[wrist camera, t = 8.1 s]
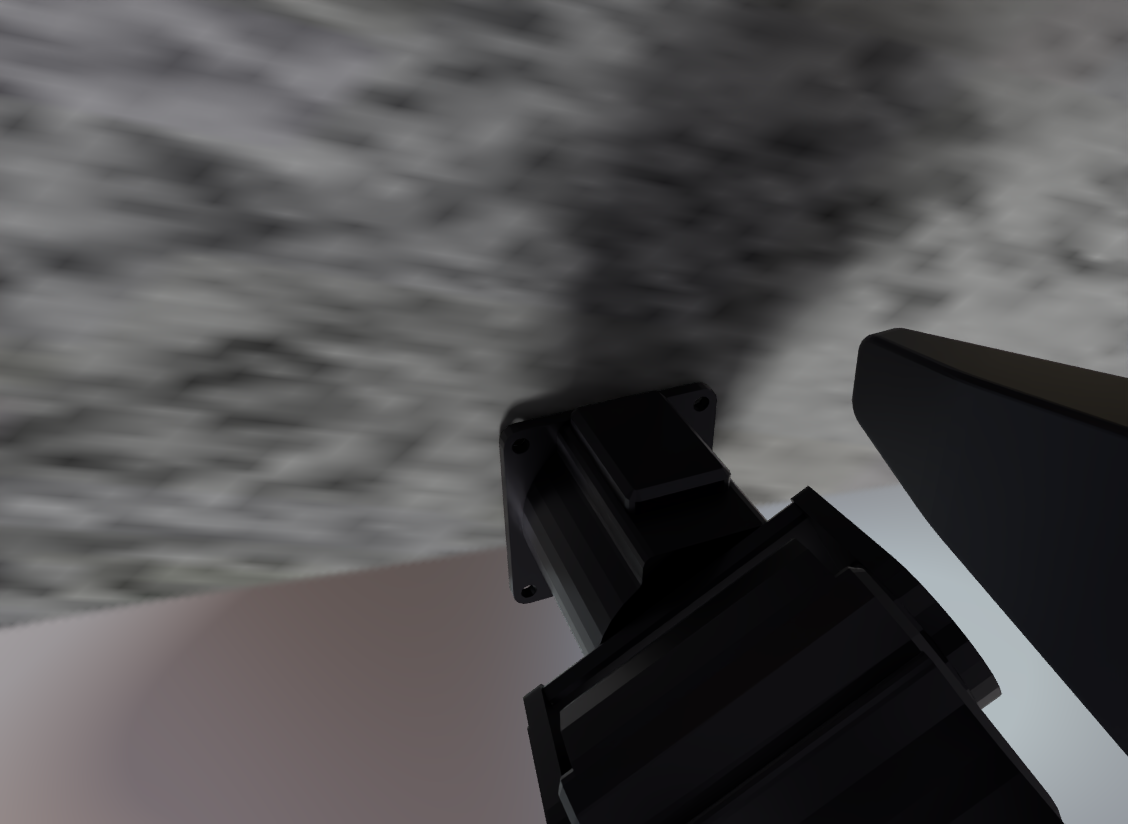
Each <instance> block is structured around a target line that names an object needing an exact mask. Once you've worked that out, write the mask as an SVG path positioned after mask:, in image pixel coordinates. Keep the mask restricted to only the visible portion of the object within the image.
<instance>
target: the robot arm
mask: <svg viewBox="0 0 1128 824" xmlns="http://www.w3.org/2000/svg"><path fill="white" fill-rule="evenodd" d="M700 397H702V399H701V400H700V401H699V403H697V404H694V403H695V401H696V400H697V399H698V398H700ZM716 403H717V399H716V394H715V393H714V392H713V391H712V390H711V389H710V387H709V386H708V385H707V384H704V383H702V382H700V383H692V384H688V385H683V386H679V387H674V388H670V389H665V390H661V391H651V392H646V393H642V394H637V395H633V396H628V397H624V398H619V399H615V400H610V401H606V402H601V403H597V404H593V405H588V406H584V407H579V408H577V409H576V410H572V411H567V412H563V413H558V414H554V415H550V416H545V417H541V418H536V419H532V420H527V421H523V422H518V423H515V424H512V425H510V426H508V427H507V428H506V429H504V430H503V432H502V434H501V435H500V439H499V448H500V462H501V476H502V490H503V503H504V517H505V531H506V545H507V559H508V572H509V585H510V590H511V592H512V594H513V596H514V599H515V600H516V601H517V602H518V603H523V604H526V603H531V602H535V601H539V600H542V599H545V598H549V597H552V596H554V598H555V600H556V602H557V604H558V606H559V608H560V610H561V611H562V613H563V616H564V618H565V620H566V622H567V623H568V626H569V627H570V629H571V631H572V633H573V635H574V637H575V639H576V641H577V643H578V645H579V647H580V649H581V651H582V653H583V655H584V657H583V658H582V659H580V660H579V661H578V662H576V663H575V664H574V665H572V666H571V667H570V668H568V669H567V670H566V671H564V672H563V673H562V674H560V675H559V676H557V677H556V678H555V679H553V680H552V681H551V682H550V683H548V684H547V685H546V686H544V685H542V684H540V685H539V686H537V687H536V688H535V689H533V690H532V691H531V692H529V693H528V694H527V695H525V696H524V697H523V700H524V705H525V710H526V714H527V720H528V725H529V726H528V728H527V730H528V734H529V739H530V744H531V749H532V754H533V759H534V764H535V769H536V774H537V778H538V783H539V788H540V792H541V798H542V803H543V807H544V812H545V817H546V822H547V824H1064V823H1063V822H1062V819H1061V817H1060V814H1059V810H1058V808H1057V806H1056V805H1055V803H1054V801H1053V800H1052V798H1051V797H1050V796H1049V794H1048V793H1047V792H1046V790H1045V789H1044V788H1043V786H1042V785H1041V784H1040V783H1039V781H1038V780H1037V779H1036V778H1035V776H1034V775H1033V774H1032V773H1031V771H1030V770H1029V769H1028V768H1027V766H1026V765H1025V764H1024V763H1023V762H1022V760H1021V759H1020V758H1019V756H1018V755H1017V754H1016V753H1015V751H1014V750H1013V749H1012V748H1011V746H1010V745H1009V744H1008V743H1007V741H1006V740H1005V739H1004V738H1003V737H1002V735H1001V734H1000V732H999V731H998V730H997V729H996V727H994V725H993V724H992V723H991V721H990V720H989V719H988V718H987V716H986V715H985V714H984V712H983V711H982V710H981V709H983V708H984V707H985V706H987V705H988V704H990V703H991V702H992V701H994V700H995V699H997V698H998V697H999V696H1000V695H1001V690H1000V687H999V685H998V683H997V681H996V679H995V677H994V675H993V674H992V673H991V671H990V669H989V668H988V666H987V665H986V663H985V662H984V660H983V659H982V657H981V656H980V655H979V653H978V652H977V651H976V649H975V648H974V646H973V645H972V644H971V642H970V641H969V640H968V638H967V637H966V636H965V635H964V633H963V632H962V631H961V630H960V628H959V627H958V626H957V625H956V623H955V622H954V621H953V620H952V618H951V617H950V616H949V615H948V614H947V613H946V611H944V609H943V608H942V607H941V606H940V604H939V603H938V602H937V601H936V600H935V599H934V598H933V597H932V596H931V594H930V593H929V592H928V591H927V590H926V589H925V588H924V587H923V586H922V585H921V583H919V581H918V580H917V579H916V578H915V577H913V575H911V573H910V572H909V571H908V570H907V569H906V568H905V567H904V566H902V565H901V564H900V563H899V562H898V561H897V560H896V559H895V558H893V557H892V556H891V555H890V554H889V553H887V551H885V550H884V549H883V548H882V547H881V546H879V545H878V544H877V543H876V542H875V541H873V540H872V539H871V538H870V537H869V536H868V535H866V534H865V533H864V532H863V531H862V530H860V529H859V528H858V527H857V526H856V525H854V524H853V523H852V522H851V521H850V520H849V519H847V518H846V517H845V516H844V515H843V514H841V513H840V512H839V511H838V510H837V509H835V508H834V507H833V506H832V505H831V504H829V503H828V502H827V501H826V500H825V499H824V498H822V497H821V496H820V495H819V494H818V493H816V492H815V491H814V490H813V489H812V488H811V487H809V486H807V487H806V488H805V489H803V490H802V491H800V492H799V493H798V494H796V495H795V496H794V497H792V498H791V501H792V503H791V504H790V505H788V506H787V507H786V508H784V509H783V510H782V511H780V512H779V513H778V514H776V515H775V516H773V517H772V518H771V519H769V520H768V521H767V520H766V519H765V518H764V516H763V515H762V514H761V513H760V512H759V511H758V509H757V508H756V507H755V506H754V505H753V504H752V503H751V501H750V500H749V499H748V498H747V497H746V496H745V494H744V493H743V492H742V491H741V490H740V489H739V487H738V486H737V485H736V484H735V483H734V482H733V481H732V479H731V478H730V476H731V473H730V471H729V469H728V468H727V467H726V466H725V465H724V464H723V462H722V461H721V460H720V459H719V458H718V457H717V456H716V454H715V453H714V452H713V451H712V447H713V436H714V425H715V414H716ZM852 404H853V410H854V414H855V416H856V418H857V420H858V422H859V424H860V425H861V427H862V428H863V430H864V431H865V433H866V434H867V436H868V437H869V438H870V440H871V441H872V443H873V444H874V446H875V447H876V449H877V450H878V451H879V453H880V454H881V456H882V457H883V459H884V460H885V462H886V463H887V464H888V466H889V467H890V469H891V470H892V472H893V473H894V475H895V476H896V478H897V479H898V480H899V482H900V483H901V485H902V486H903V488H904V489H905V491H906V492H907V493H908V495H909V496H910V498H911V499H912V501H913V502H914V504H915V505H916V507H917V508H918V509H919V511H920V512H921V513H922V515H923V516H924V517H925V519H926V520H927V521H928V523H929V524H930V525H931V527H932V528H933V529H934V530H935V532H936V533H937V534H938V535H939V536H940V538H941V539H942V540H943V541H944V542H945V544H946V545H947V546H948V547H949V548H950V549H951V551H952V552H953V553H954V554H955V555H956V556H957V558H958V559H959V560H960V561H961V562H962V563H963V564H964V566H965V567H966V568H967V569H968V570H969V572H970V573H971V574H972V575H973V576H974V577H975V579H976V580H977V581H978V582H979V583H980V584H981V585H982V587H983V588H984V589H985V590H986V591H987V593H988V594H989V595H990V596H991V597H992V598H993V600H994V601H995V602H996V603H997V604H998V605H999V607H1000V608H1001V609H1002V610H1003V611H1004V612H1005V614H1006V615H1007V616H1008V617H1009V618H1010V619H1011V621H1012V622H1013V623H1014V624H1015V625H1016V626H1017V628H1018V629H1019V630H1020V631H1021V632H1022V633H1023V635H1024V636H1025V637H1026V638H1027V639H1028V640H1029V642H1030V643H1031V644H1032V645H1033V646H1034V647H1035V649H1036V650H1037V651H1038V652H1039V653H1040V654H1041V656H1042V657H1043V658H1044V659H1045V660H1046V661H1047V662H1048V664H1049V665H1050V666H1051V667H1052V668H1053V670H1054V671H1055V672H1056V673H1057V674H1058V675H1059V677H1060V678H1061V679H1062V680H1063V681H1064V682H1065V684H1066V685H1067V686H1068V687H1069V688H1070V689H1071V690H1072V692H1073V693H1074V694H1075V695H1076V696H1077V698H1078V699H1079V700H1080V701H1081V702H1082V703H1083V705H1084V706H1085V707H1086V708H1087V709H1088V710H1089V712H1090V713H1091V714H1092V715H1093V716H1094V717H1095V718H1096V720H1097V721H1098V722H1099V723H1100V724H1101V726H1102V727H1103V728H1104V729H1105V730H1106V731H1107V733H1108V734H1109V735H1110V736H1111V737H1112V738H1113V740H1114V741H1115V742H1116V743H1117V744H1118V745H1119V747H1120V748H1121V749H1122V750H1123V751H1124V752H1125V754H1126V755H1127V756H1128V378H1125V377H1121V376H1116V375H1112V374H1107V373H1103V372H1098V371H1094V370H1089V369H1085V368H1080V367H1076V366H1071V365H1067V364H1062V363H1058V362H1053V361H1049V360H1044V359H1040V358H1035V357H1031V356H1026V355H1022V354H1017V353H1013V352H1008V351H1004V350H999V349H995V348H990V347H986V346H981V345H977V344H972V343H968V342H963V341H959V340H954V339H950V338H945V337H941V336H936V335H932V334H927V333H923V332H918V331H914V330H909V329H905V328H893V329H890V330H886V331H882V332H879V333H875V334H871V335H868V336H867V337H866V338H864V339H863V341H862V342H861V344H860V346H859V350H858V358H857V365H856V373H855V381H854V388H853V396H852ZM520 438H525V440H524V441H523V442H522V443H521V444H519V445H517V446H512V445H513V443H514V442H515V441H516V440H518V439H520ZM528 585H530V587H528V588H526V589H524V587H526V586H528Z"/></svg>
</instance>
